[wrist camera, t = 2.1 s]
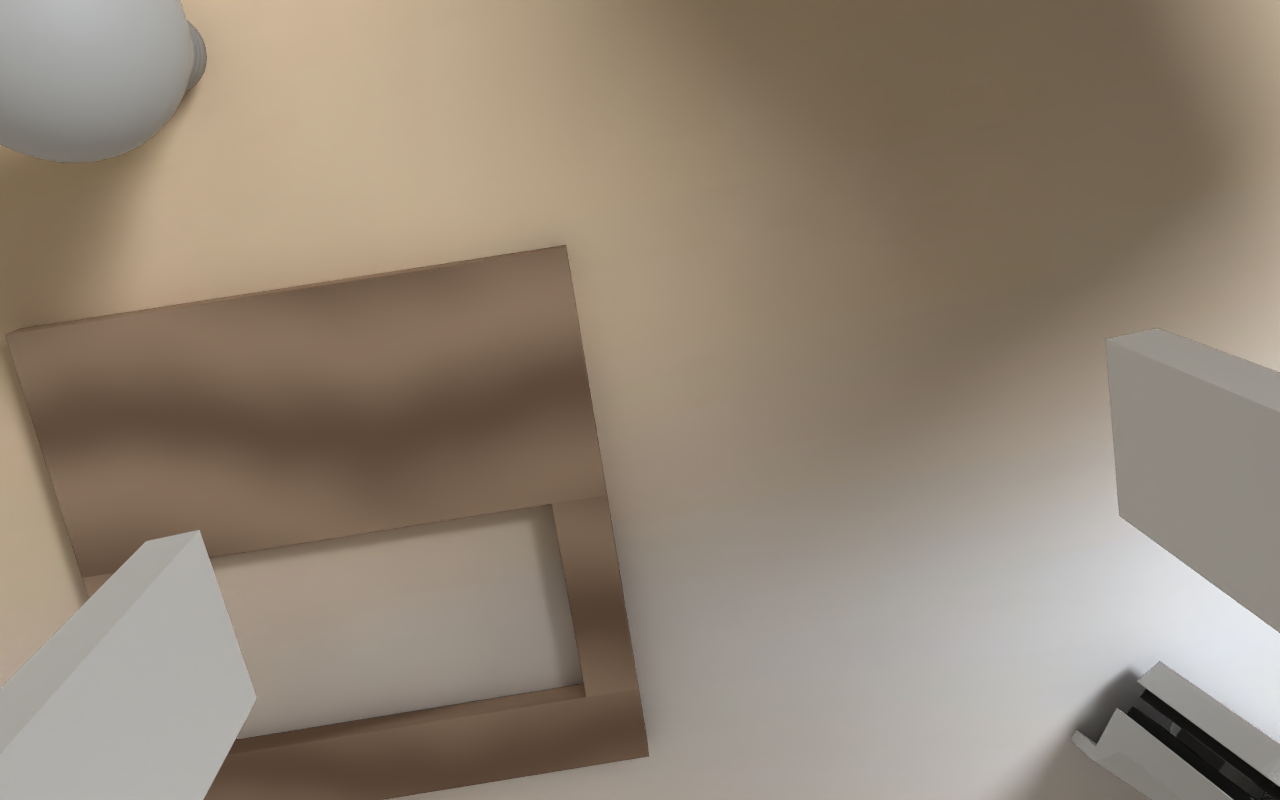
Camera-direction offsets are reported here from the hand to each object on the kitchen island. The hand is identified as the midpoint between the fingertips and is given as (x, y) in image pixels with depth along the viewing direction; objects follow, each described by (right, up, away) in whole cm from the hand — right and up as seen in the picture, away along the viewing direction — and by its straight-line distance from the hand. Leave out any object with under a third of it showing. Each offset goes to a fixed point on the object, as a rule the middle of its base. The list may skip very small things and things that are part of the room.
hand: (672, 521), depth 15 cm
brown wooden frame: (-11, -4, +24) cm, 27 cm away
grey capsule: (-16, +13, +19) cm, 28 cm away
